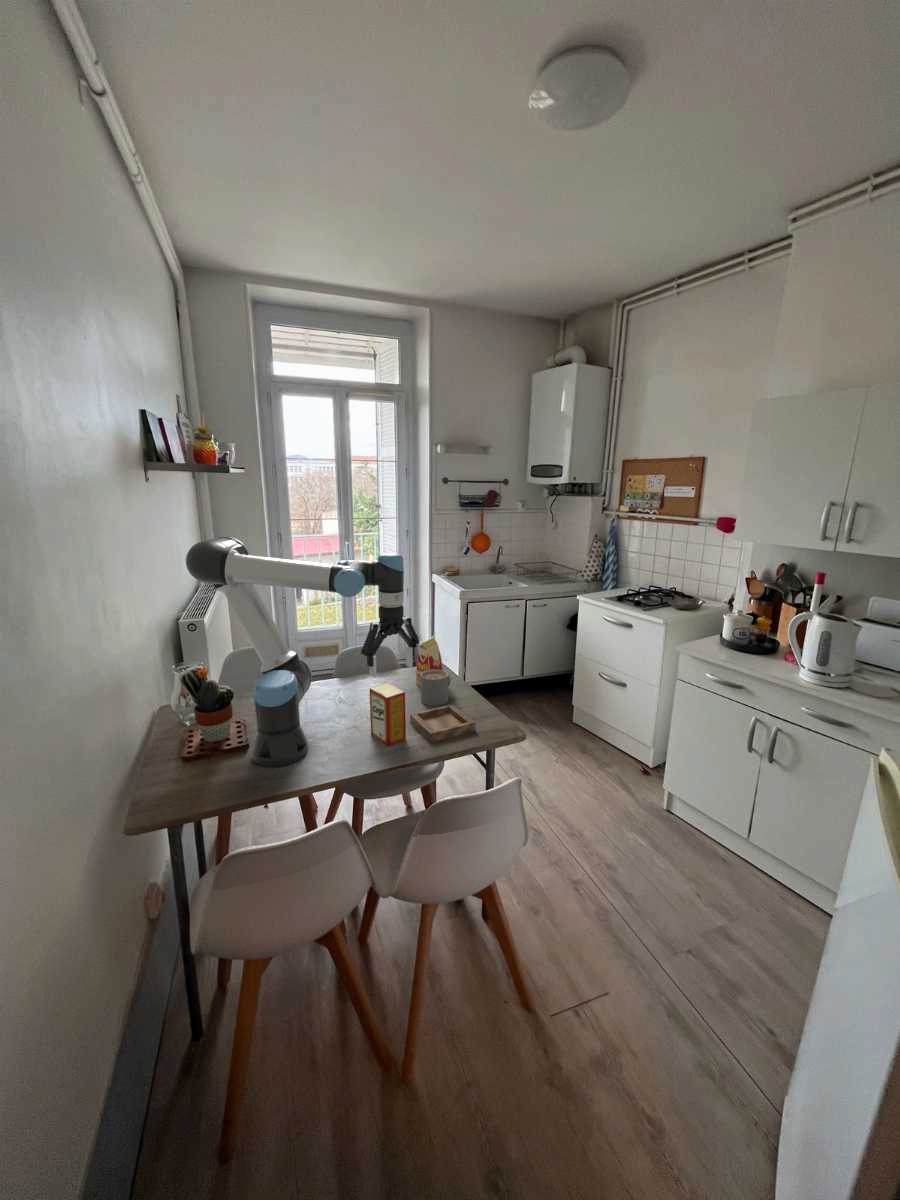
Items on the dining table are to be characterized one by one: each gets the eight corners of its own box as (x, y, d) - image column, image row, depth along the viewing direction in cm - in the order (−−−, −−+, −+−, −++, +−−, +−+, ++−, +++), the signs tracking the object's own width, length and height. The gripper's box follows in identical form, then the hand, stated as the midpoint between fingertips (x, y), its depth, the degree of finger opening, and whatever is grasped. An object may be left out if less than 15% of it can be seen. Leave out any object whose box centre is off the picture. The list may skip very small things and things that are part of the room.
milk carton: (431, 679, 197) (431, 631, 193) (445, 685, 190) (446, 637, 186) (413, 684, 192) (412, 636, 187) (427, 691, 185) (427, 641, 180)
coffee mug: (431, 708, 171) (431, 681, 169) (415, 699, 178) (415, 673, 176) (460, 698, 179) (460, 672, 177) (443, 690, 186) (444, 665, 184)
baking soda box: (371, 734, 152) (369, 687, 148) (388, 728, 156) (387, 681, 153) (388, 746, 145) (386, 696, 141) (405, 739, 149) (404, 690, 146)
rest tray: (430, 742, 147) (430, 733, 146) (410, 722, 160) (410, 714, 159) (475, 730, 155) (475, 722, 154) (452, 712, 167) (452, 704, 167)
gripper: (362, 613, 136) (363, 684, 140) (430, 601, 152) (429, 665, 157) (348, 608, 141) (350, 676, 146) (416, 597, 157) (415, 659, 162)
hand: (391, 671), depth 151 cm, fingers open, 13 cm apart
